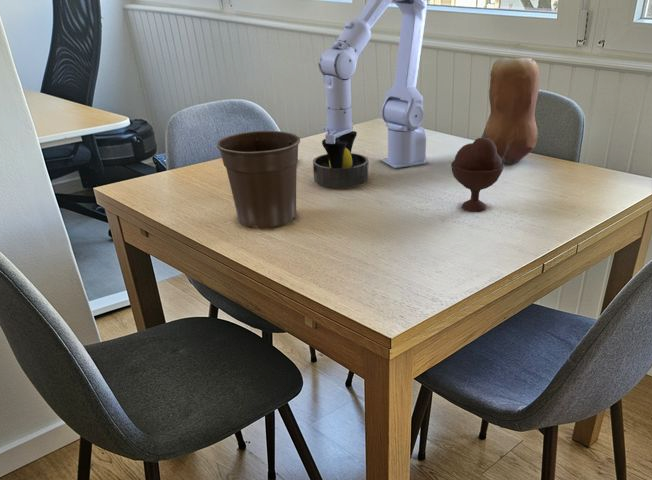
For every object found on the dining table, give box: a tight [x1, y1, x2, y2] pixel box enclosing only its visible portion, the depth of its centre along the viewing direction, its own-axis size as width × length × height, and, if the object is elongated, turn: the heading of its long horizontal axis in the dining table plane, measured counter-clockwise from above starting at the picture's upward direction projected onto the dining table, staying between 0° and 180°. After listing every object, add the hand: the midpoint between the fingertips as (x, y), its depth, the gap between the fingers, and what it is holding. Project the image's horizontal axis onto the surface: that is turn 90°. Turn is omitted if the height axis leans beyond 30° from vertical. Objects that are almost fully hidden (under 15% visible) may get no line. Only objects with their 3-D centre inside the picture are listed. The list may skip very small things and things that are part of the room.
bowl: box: [312, 152, 370, 189], centre depth 149 cm, size 13×13×5 cm
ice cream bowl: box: [450, 137, 505, 213], centre depth 130 cm, size 11×11×15 cm
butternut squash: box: [483, 57, 540, 164], centre depth 155 cm, size 14×13×25 cm
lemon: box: [329, 147, 352, 168], centre depth 148 cm, size 6×6×8 cm
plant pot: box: [216, 130, 301, 229], centre depth 126 cm, size 16×16×16 cm
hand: (340, 166), depth 148 cm, fingers closed on lemon, 5 cm apart
